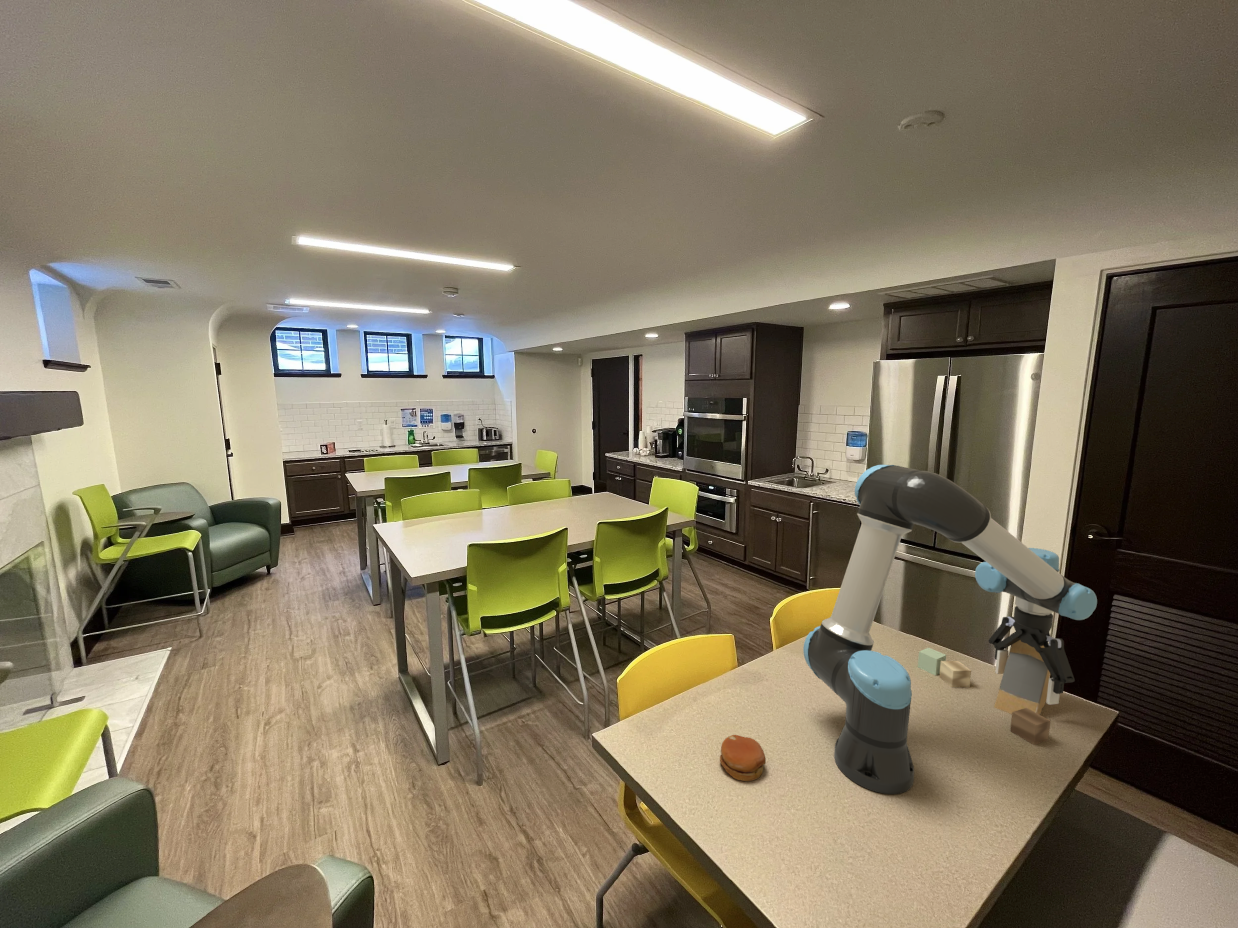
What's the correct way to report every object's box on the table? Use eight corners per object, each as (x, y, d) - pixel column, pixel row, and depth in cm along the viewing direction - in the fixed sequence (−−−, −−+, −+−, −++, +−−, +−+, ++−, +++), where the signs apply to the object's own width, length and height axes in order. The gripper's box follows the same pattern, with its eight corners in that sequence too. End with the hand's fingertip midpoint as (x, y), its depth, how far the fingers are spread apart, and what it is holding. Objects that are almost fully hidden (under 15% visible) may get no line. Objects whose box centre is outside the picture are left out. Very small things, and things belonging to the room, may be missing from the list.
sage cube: (935, 675, 139) (936, 659, 138) (917, 667, 143) (918, 651, 143) (944, 670, 141) (946, 654, 141) (927, 663, 146) (928, 647, 145)
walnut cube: (1033, 745, 111) (1036, 725, 110) (1010, 731, 115) (1012, 711, 115) (1048, 740, 112) (1050, 720, 112) (1024, 726, 117) (1026, 707, 116)
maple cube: (951, 687, 133) (953, 670, 132) (939, 677, 138) (940, 660, 137) (969, 687, 133) (971, 670, 133) (956, 677, 138) (958, 660, 138)
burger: (750, 789, 98) (750, 768, 97) (711, 766, 104) (711, 746, 104) (773, 764, 105) (773, 744, 104) (735, 743, 111) (735, 724, 111)
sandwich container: (991, 707, 125) (997, 652, 123) (1006, 685, 134) (1012, 634, 133) (1035, 724, 118) (1042, 666, 116) (1047, 699, 128) (1054, 646, 126)
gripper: (1101, 630, 112) (1090, 716, 114) (1000, 589, 136) (993, 660, 139) (1074, 633, 110) (1063, 719, 113) (977, 591, 135) (970, 663, 138)
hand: (1025, 687), depth 126 cm, fingers open, 13 cm apart
